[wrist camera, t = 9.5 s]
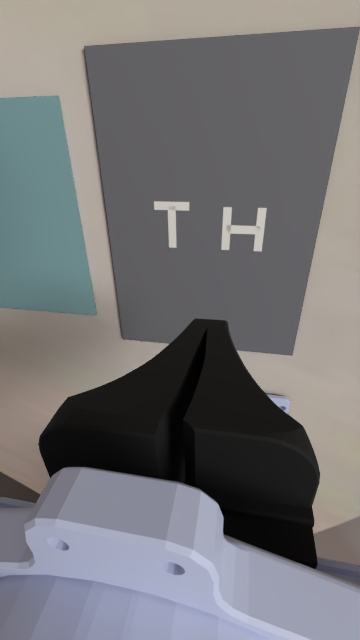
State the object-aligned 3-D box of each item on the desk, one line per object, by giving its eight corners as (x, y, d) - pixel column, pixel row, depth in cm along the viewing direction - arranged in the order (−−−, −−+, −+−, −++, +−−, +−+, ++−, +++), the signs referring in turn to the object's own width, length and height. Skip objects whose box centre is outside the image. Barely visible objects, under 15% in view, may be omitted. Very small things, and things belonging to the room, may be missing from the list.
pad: (96, 314, 25) (95, 315, 25) (-26, 303, 27) (-27, 304, 26) (58, 96, 18) (56, 95, 17) (-105, 103, 19) (-108, 102, 19)
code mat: (291, 353, 23) (292, 355, 23) (123, 337, 25) (123, 339, 25) (358, 28, 14) (360, 26, 14) (86, 47, 16) (84, 46, 16)
